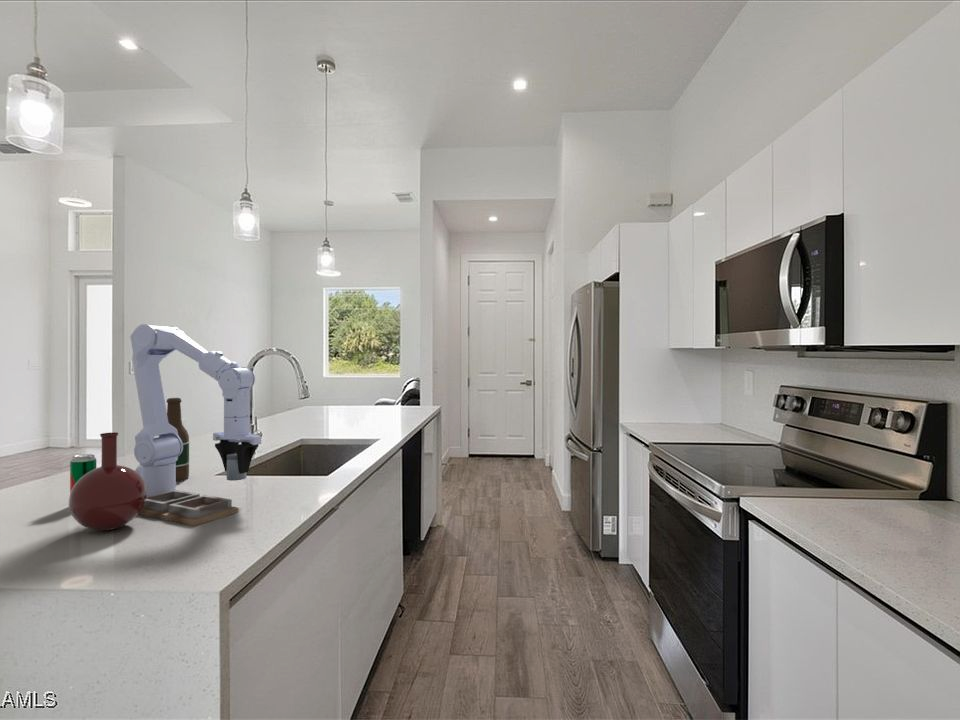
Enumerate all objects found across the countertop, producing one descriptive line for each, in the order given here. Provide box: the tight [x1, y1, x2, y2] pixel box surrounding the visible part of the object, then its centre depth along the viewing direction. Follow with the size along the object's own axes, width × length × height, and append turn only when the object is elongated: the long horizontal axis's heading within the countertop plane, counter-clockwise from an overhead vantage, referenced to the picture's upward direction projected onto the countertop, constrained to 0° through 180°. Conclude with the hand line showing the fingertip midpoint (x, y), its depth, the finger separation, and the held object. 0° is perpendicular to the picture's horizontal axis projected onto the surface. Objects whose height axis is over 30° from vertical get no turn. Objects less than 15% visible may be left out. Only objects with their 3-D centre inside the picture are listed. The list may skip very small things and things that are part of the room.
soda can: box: [69, 453, 98, 494], centre depth 123 cm, size 5×5×12 cm
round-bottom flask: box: [68, 432, 147, 532], centre depth 106 cm, size 13×13×20 cm
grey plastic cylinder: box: [226, 453, 247, 481], centre depth 125 cm, size 4×4×6 cm
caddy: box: [138, 489, 239, 527], centre depth 118 cm, size 22×11×3 cm, turn 65°
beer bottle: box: [158, 397, 190, 483], centre depth 148 cm, size 8×8×24 cm
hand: (236, 471), depth 125 cm, fingers closed on grey plastic cylinder, 4 cm apart
